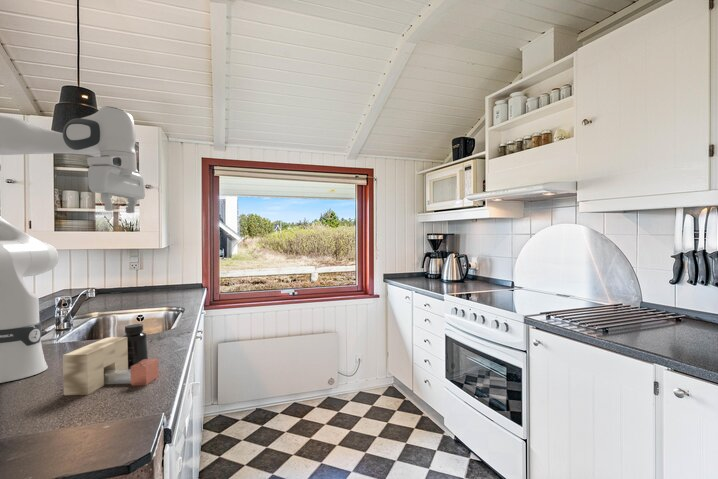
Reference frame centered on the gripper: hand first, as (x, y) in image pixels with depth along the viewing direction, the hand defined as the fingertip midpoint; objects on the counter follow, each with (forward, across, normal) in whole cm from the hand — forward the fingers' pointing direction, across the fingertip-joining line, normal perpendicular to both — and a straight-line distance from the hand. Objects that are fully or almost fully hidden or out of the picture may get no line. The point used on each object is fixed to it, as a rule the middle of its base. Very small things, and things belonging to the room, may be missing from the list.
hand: (120, 211), depth 106 cm
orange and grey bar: (+47, +8, +5) cm, 48 cm away
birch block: (+47, +8, -2) cm, 47 cm away
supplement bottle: (+47, -6, -1) cm, 47 cm away
